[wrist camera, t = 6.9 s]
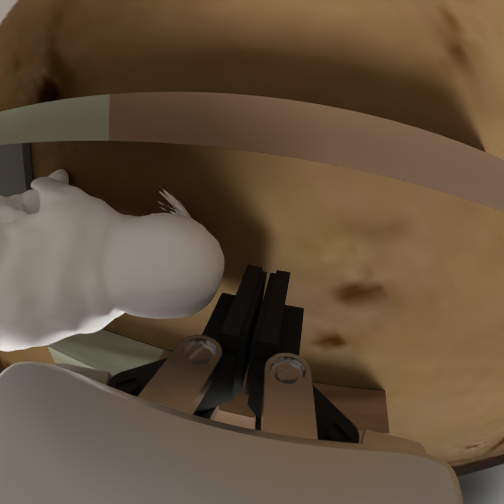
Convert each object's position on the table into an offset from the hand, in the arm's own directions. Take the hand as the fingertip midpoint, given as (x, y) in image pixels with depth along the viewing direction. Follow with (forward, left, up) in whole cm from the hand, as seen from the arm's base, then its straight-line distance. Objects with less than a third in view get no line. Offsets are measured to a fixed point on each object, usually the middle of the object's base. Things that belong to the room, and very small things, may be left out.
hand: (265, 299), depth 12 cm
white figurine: (-1, -7, -1) cm, 8 cm away
